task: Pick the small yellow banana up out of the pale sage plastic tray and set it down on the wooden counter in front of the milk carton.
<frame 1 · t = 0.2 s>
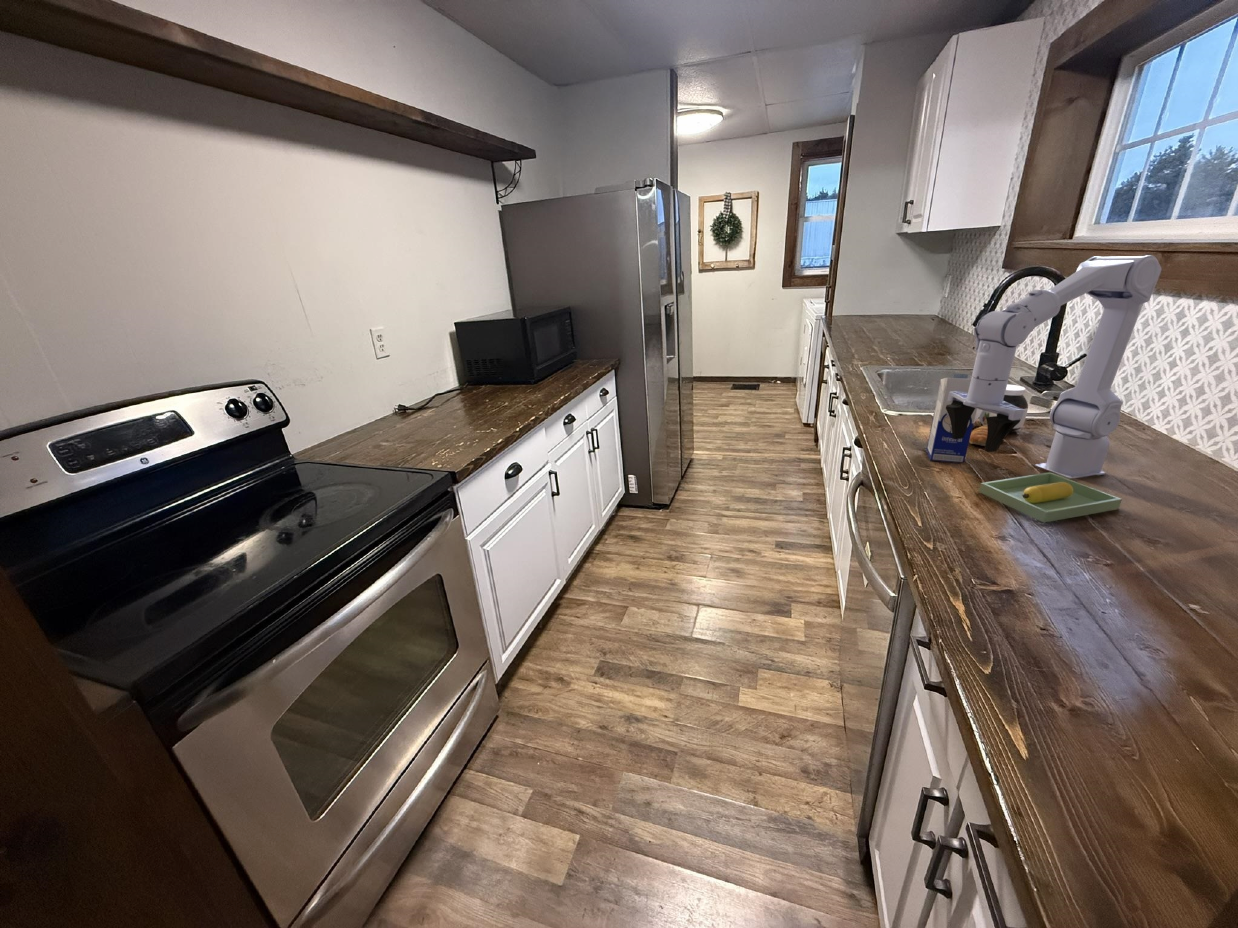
hand: (973, 444, 99), 10 cm above the worktop, tool pointing down, fingers open, 7 cm apart
pastry: (984, 442, 127), on the worktop
banana: (1045, 499, 96), point 1 cm above the worktop, touching tray
spread jar: (989, 429, 136), on the worktop
milk carton: (944, 457, 119), on the worktop
tray: (1044, 502, 96), on the worktop
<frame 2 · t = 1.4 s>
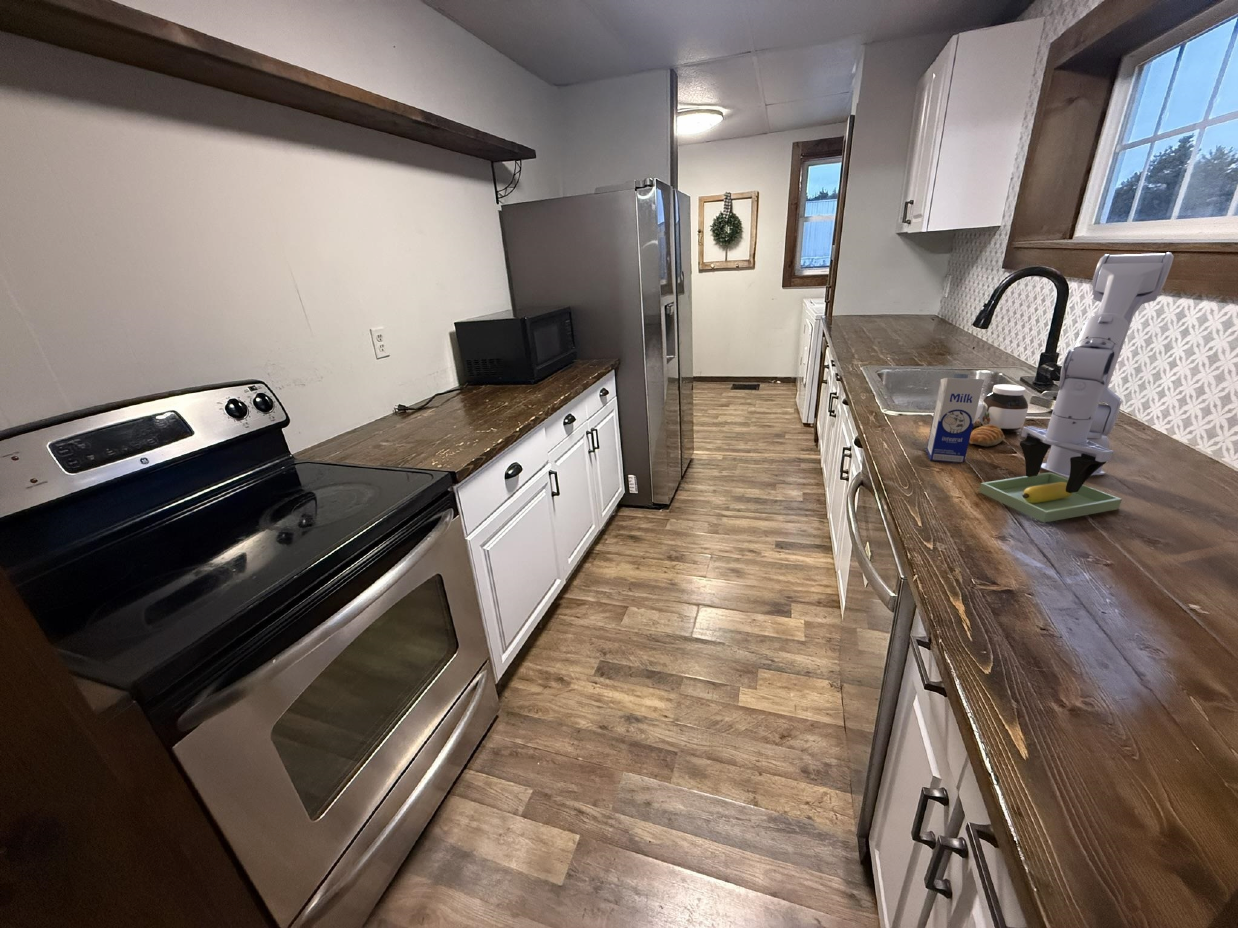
hand: (1050, 483, 95), 4 cm above the worktop, tool pointing down, fingers open, 7 cm apart
nothing on the worktop moved.
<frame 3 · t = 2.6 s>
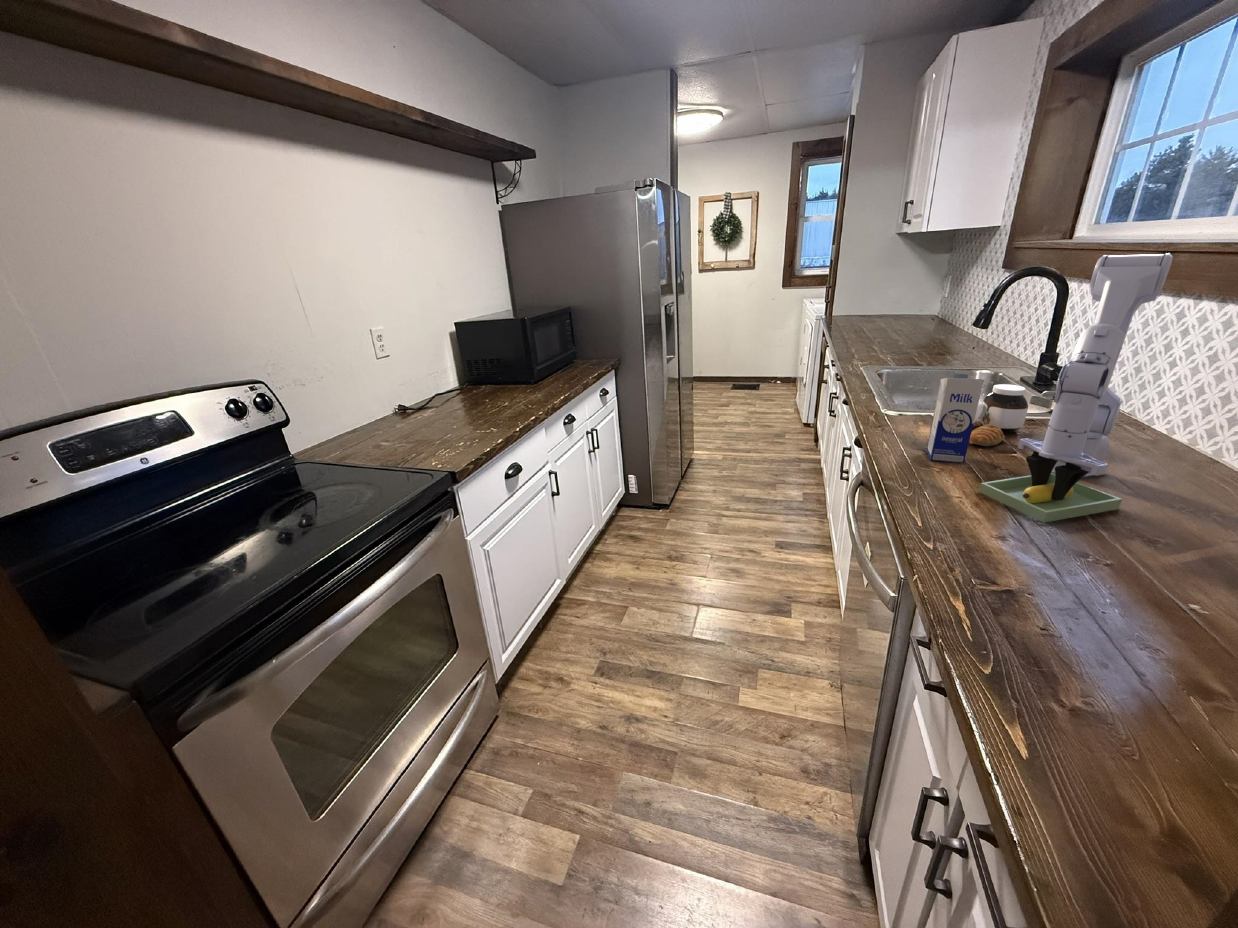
hand: (1047, 495, 96), 2 cm above the worktop, tool pointing down, fingers closed on banana, 3 cm apart
banana: (1045, 499, 96), point 1 cm above the worktop, touching gripper, tray
everything else where it was.
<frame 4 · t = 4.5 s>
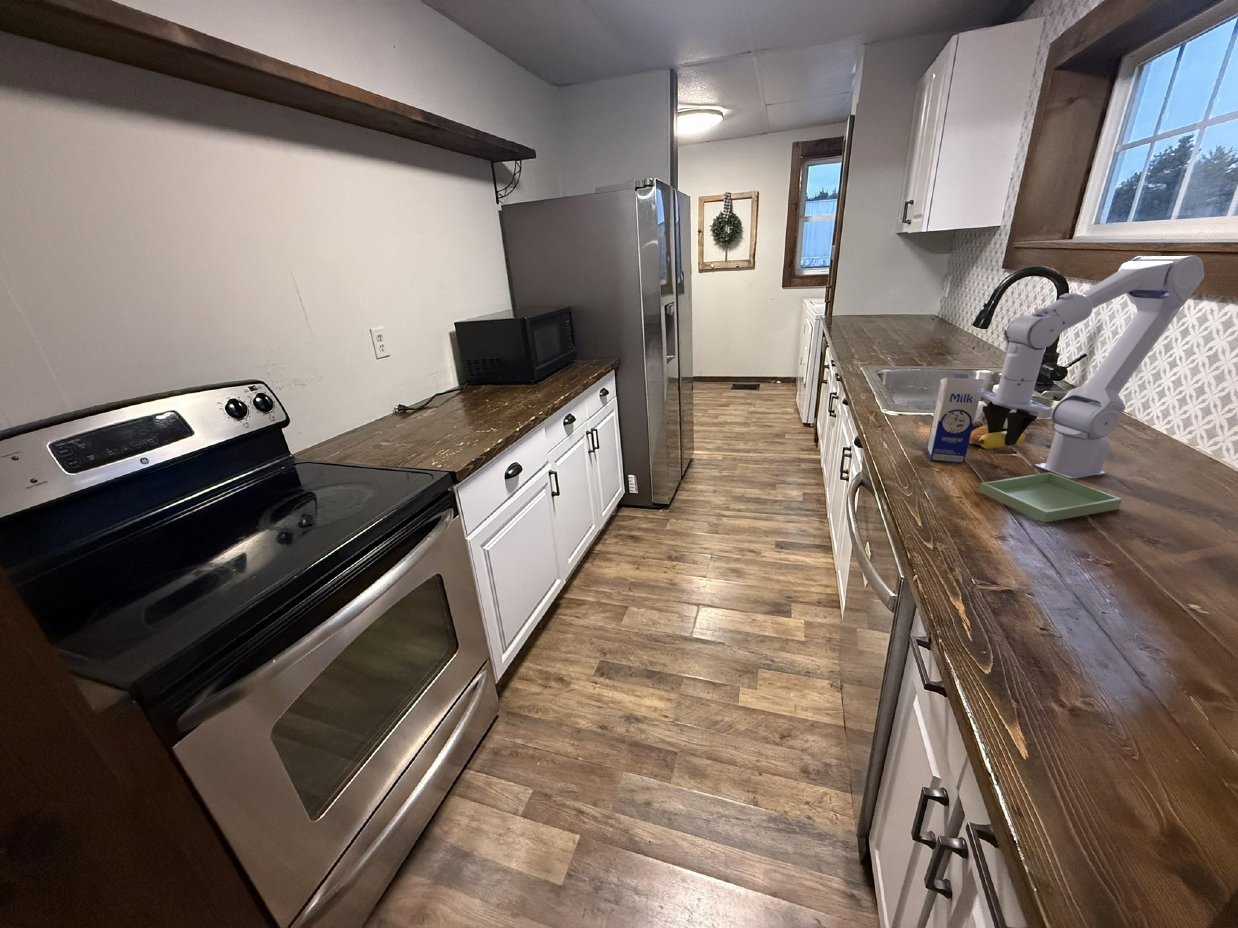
hand: (1001, 441, 104), 8 cm above the worktop, tool pointing down, fingers closed on banana, 3 cm apart
banana: (1000, 446, 105), point 7 cm above the worktop, touching gripper
everything else where it was.
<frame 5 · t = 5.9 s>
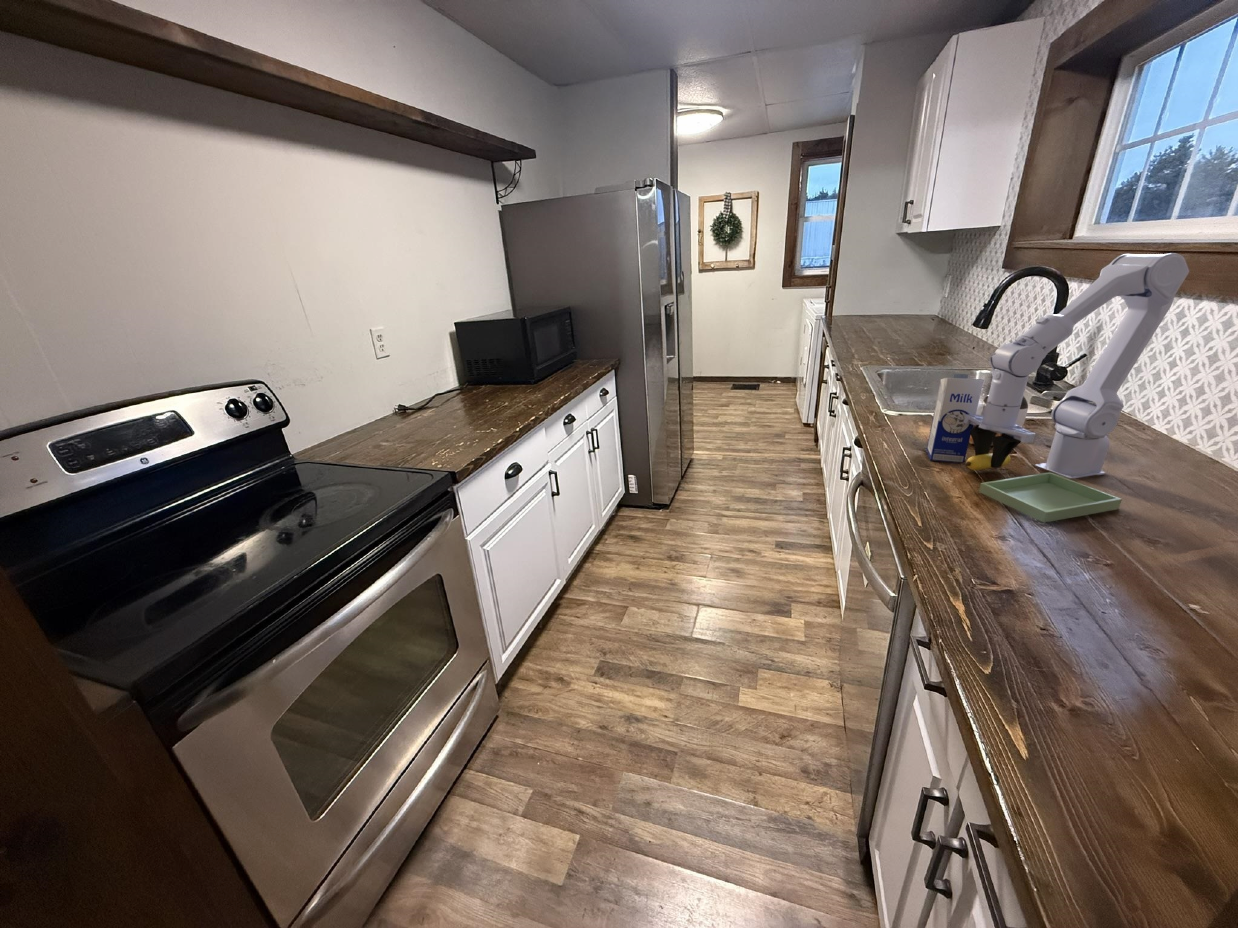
hand: (987, 463, 108), 3 cm above the worktop, tool pointing down, fingers closed on banana, 3 cm apart
banana: (986, 467, 109), point 2 cm above the worktop, touching gripper
everything else where it was.
when the fingers open (1 cm above the worktop, at t = 6.8 s): banana stays where it is, on the worktop.
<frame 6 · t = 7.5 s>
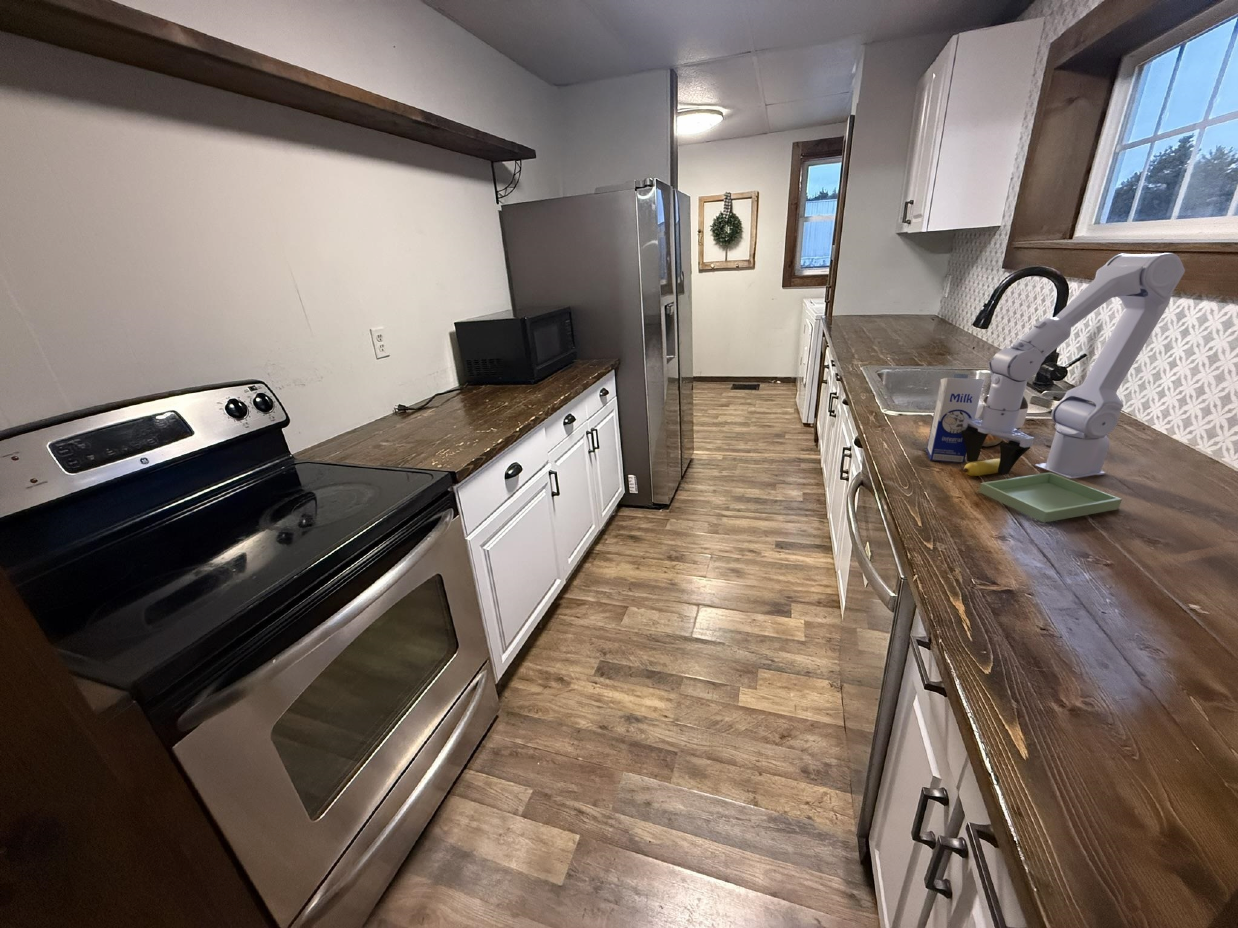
hand: (986, 467, 109), 2 cm above the worktop, tool pointing down, fingers open, 7 cm apart
banana: (984, 474, 109), on the worktop, tilted 8°
everything else where it was.
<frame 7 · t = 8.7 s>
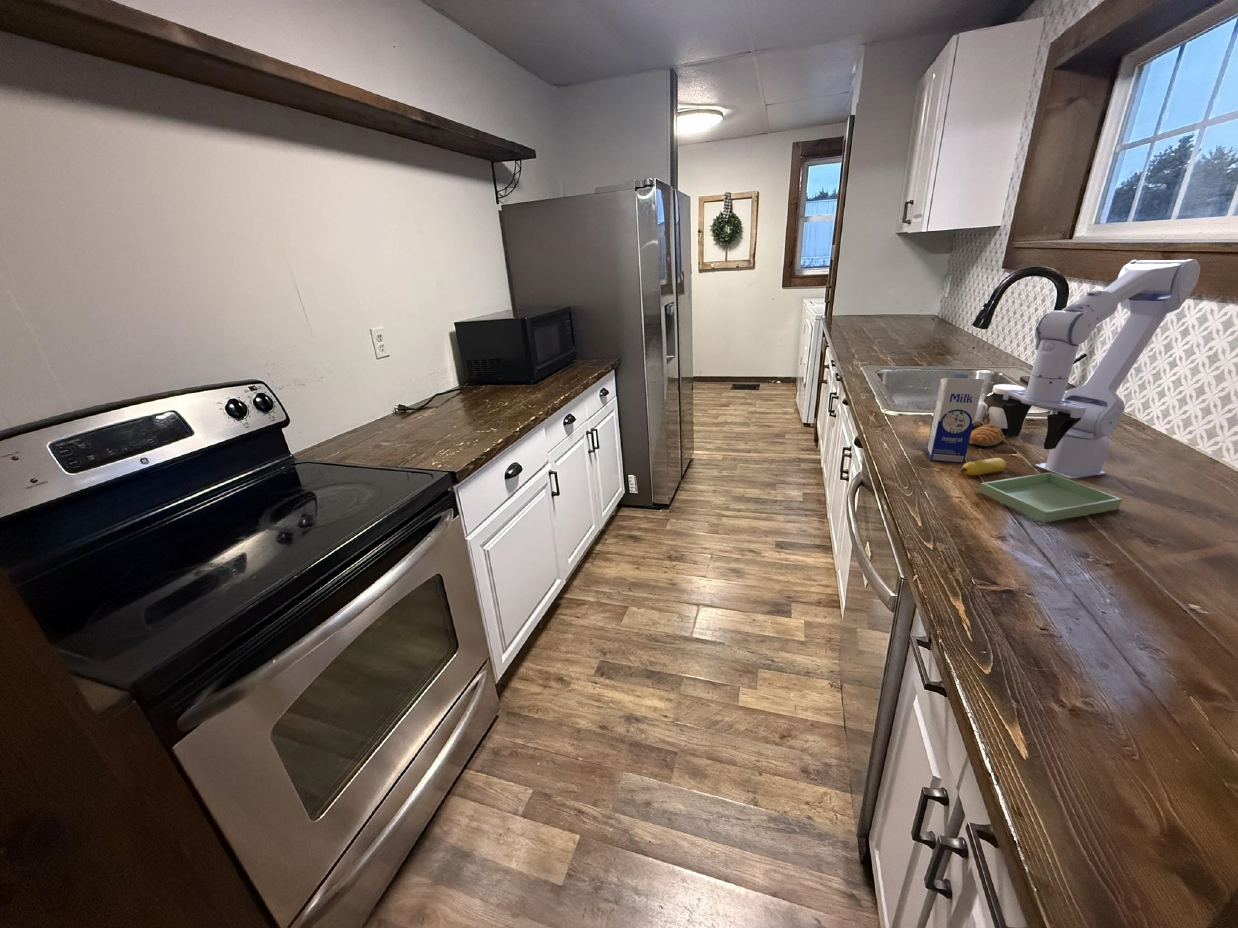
hand: (1030, 442, 101), 9 cm above the worktop, tool pointing down, fingers open, 7 cm apart
banana: (984, 474, 109), on the worktop, tilted 20°
everything else where it was.
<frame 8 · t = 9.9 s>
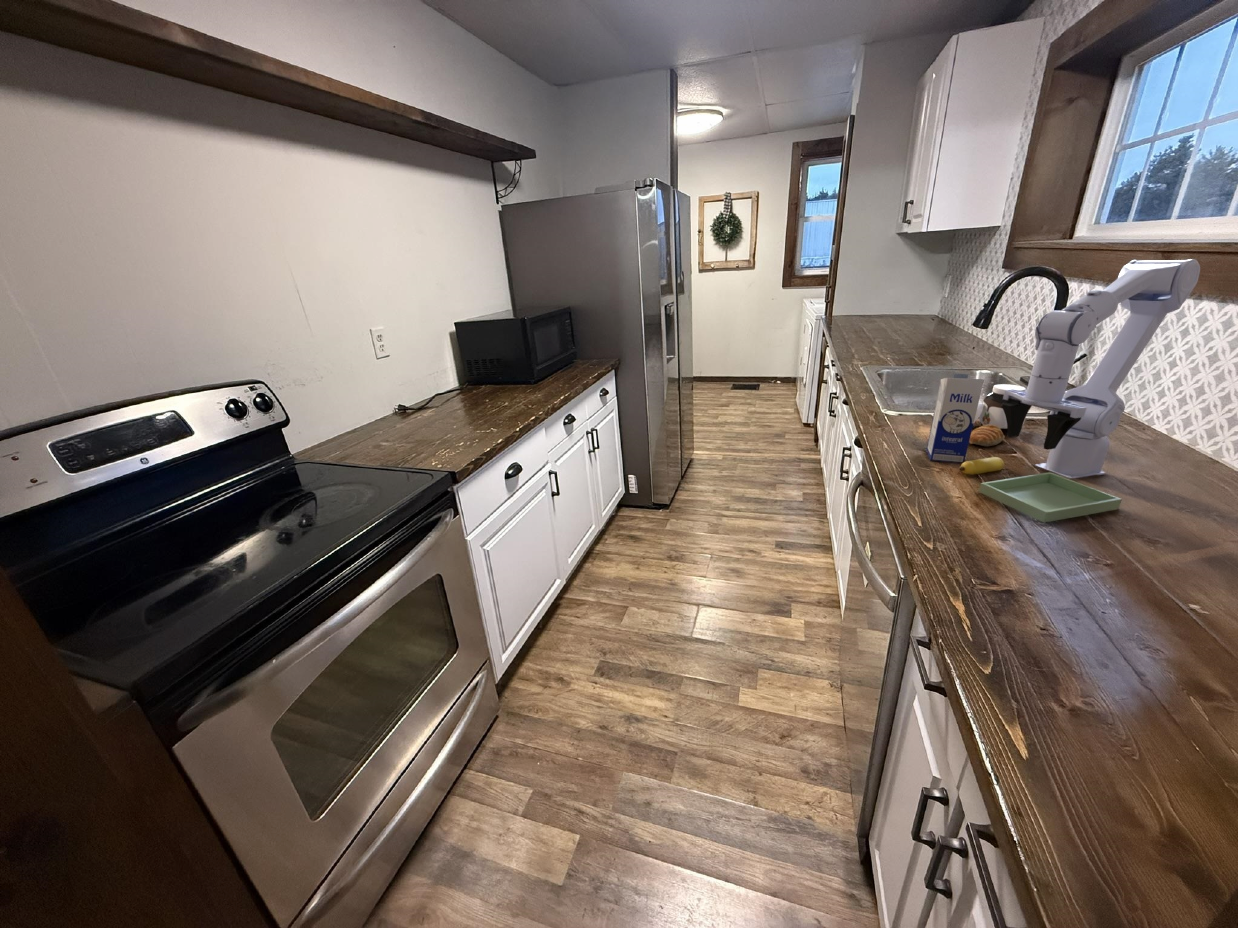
hand: (1030, 442, 101), 9 cm above the worktop, tool pointing down, fingers open, 7 cm apart
banana: (984, 472, 109), on the worktop, tilted 39°
everything else where it was.
at the end: banana inside the target area (0.1 cm from its centre), on the worktop; banana touching worktop; the gripper is holding nothing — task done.
